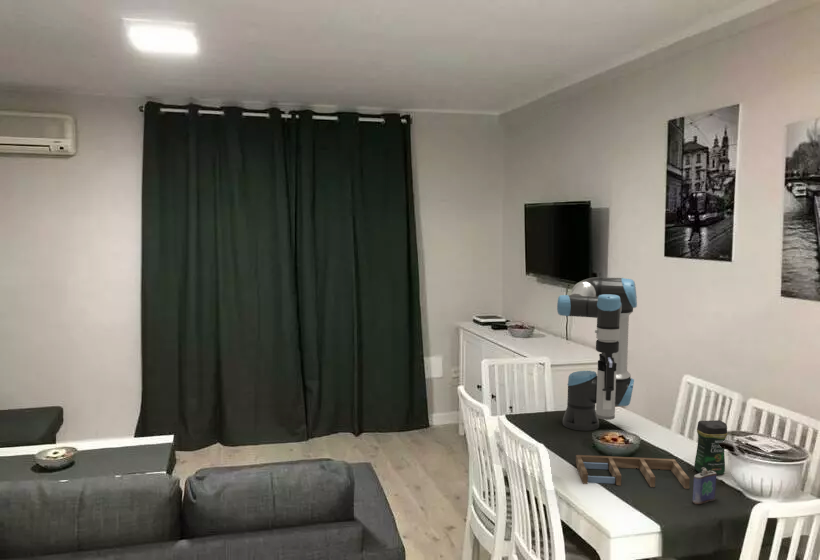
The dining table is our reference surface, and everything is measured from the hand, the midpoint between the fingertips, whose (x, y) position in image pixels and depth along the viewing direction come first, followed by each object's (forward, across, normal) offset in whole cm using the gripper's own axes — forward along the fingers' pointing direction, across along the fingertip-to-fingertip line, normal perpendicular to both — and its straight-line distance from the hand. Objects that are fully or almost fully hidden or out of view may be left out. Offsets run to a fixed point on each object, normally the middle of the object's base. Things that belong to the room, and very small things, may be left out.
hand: (605, 406), depth 230 cm
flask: (+25, +18, +28) cm, 41 cm away
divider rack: (+25, 0, +9) cm, 27 cm away
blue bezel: (+25, 0, -2) cm, 25 cm away
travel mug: (+4, 0, 0) cm, 4 cm away
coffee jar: (+25, -7, +38) cm, 47 cm away
